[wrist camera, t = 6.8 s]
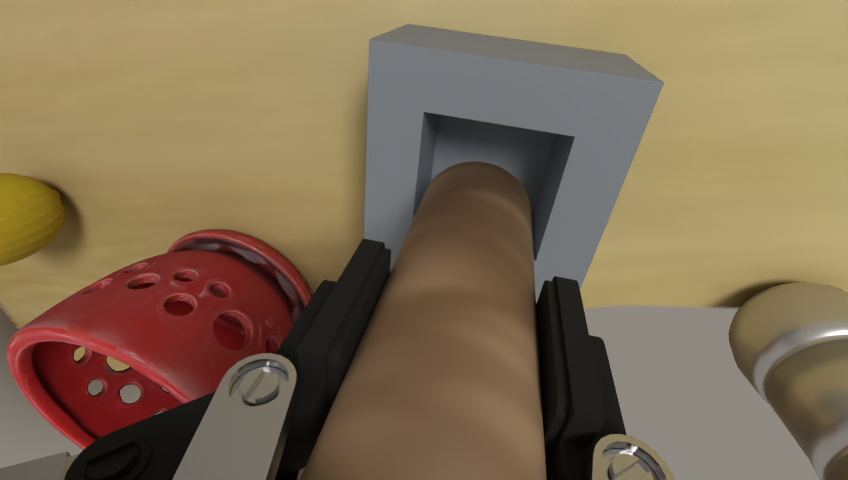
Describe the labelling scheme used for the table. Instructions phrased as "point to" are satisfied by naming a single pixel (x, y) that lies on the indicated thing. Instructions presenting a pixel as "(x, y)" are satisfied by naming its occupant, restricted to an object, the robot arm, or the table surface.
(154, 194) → the table surface
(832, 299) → the plastic bottle
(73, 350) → the plant pot
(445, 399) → the peg
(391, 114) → the socket
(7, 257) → the lemon
